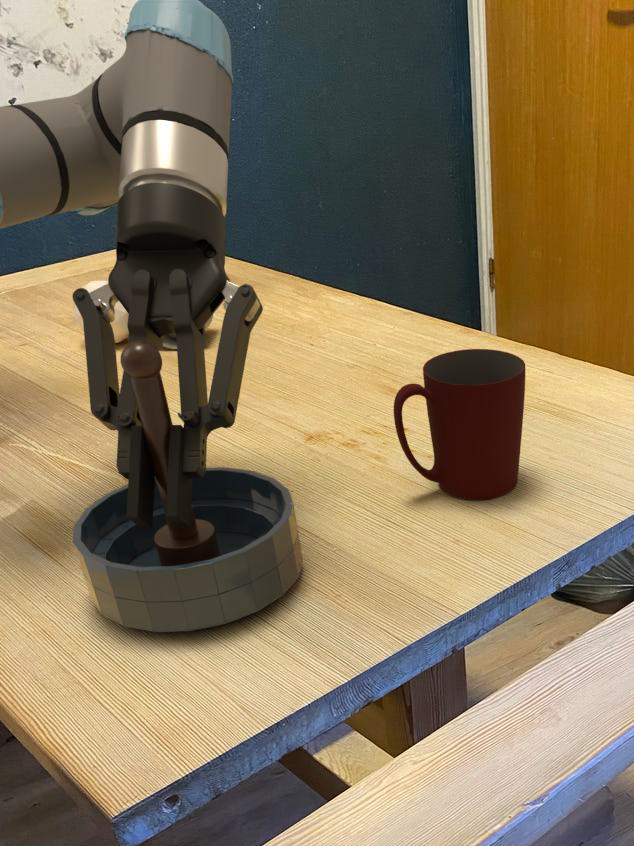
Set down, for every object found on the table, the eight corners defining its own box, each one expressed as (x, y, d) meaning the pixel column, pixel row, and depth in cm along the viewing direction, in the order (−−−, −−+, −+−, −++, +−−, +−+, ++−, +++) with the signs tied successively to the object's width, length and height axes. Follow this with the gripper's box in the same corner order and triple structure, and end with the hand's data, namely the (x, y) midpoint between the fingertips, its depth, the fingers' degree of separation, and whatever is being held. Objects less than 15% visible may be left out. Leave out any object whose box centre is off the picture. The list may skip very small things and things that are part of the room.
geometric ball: (134, 361, 124) (124, 320, 116) (72, 348, 123) (58, 306, 115) (149, 317, 127) (140, 274, 119) (88, 304, 126) (76, 260, 118)
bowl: (49, 621, 70) (24, 553, 67) (169, 520, 83) (153, 458, 79) (239, 656, 66) (223, 585, 63) (336, 544, 79) (327, 479, 75)
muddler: (151, 578, 70) (87, 350, 60) (183, 549, 73) (128, 328, 63) (202, 586, 69) (145, 355, 59) (232, 556, 72) (184, 333, 62)
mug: (421, 521, 81) (412, 400, 75) (385, 481, 88) (373, 366, 81) (542, 490, 85) (544, 373, 79) (498, 454, 92) (496, 342, 85)
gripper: (287, 236, 72) (280, 535, 68) (94, 242, 72) (76, 538, 68) (262, 173, 64) (252, 504, 61) (46, 179, 65) (23, 508, 61)
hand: (159, 521), depth 64 cm, fingers closed on muddler, 2 cm apart
